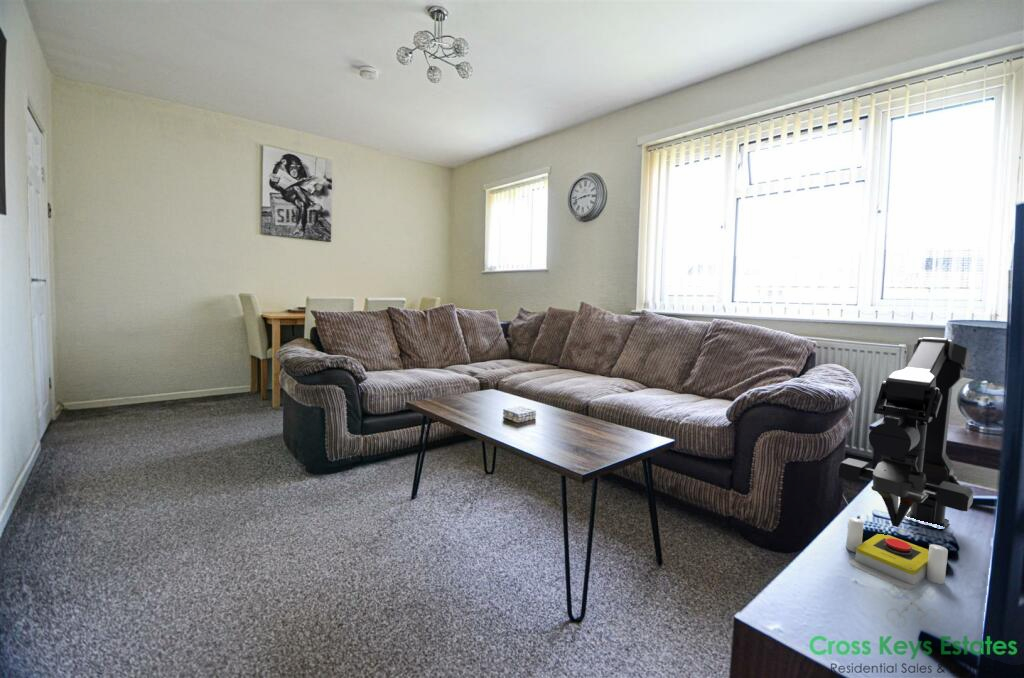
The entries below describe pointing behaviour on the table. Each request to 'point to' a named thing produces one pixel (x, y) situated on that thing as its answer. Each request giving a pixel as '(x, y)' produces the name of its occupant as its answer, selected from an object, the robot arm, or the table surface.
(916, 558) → the emergency button
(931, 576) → the post
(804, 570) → the table surface
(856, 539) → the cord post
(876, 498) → the table surface
